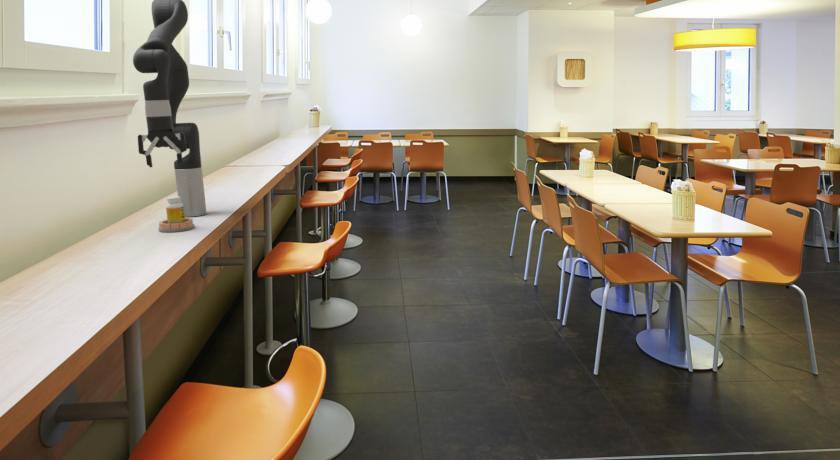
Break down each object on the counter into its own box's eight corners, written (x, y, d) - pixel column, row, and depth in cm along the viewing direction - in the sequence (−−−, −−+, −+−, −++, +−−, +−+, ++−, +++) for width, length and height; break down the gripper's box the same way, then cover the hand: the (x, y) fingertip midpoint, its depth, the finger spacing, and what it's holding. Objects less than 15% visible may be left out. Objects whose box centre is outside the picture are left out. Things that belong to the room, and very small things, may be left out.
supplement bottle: (168, 225, 206) (165, 196, 204) (185, 224, 208) (182, 195, 206) (167, 228, 201) (164, 199, 199) (185, 227, 203) (182, 197, 201)
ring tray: (160, 227, 208) (159, 219, 208) (195, 224, 211) (194, 216, 211) (157, 233, 198) (156, 225, 198) (193, 230, 201) (192, 222, 201)
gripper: (183, 113, 203) (189, 163, 207) (135, 115, 199) (142, 166, 203) (182, 114, 196) (188, 165, 200) (132, 116, 192) (139, 169, 196)
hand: (165, 166), depth 201 cm, fingers open, 8 cm apart
